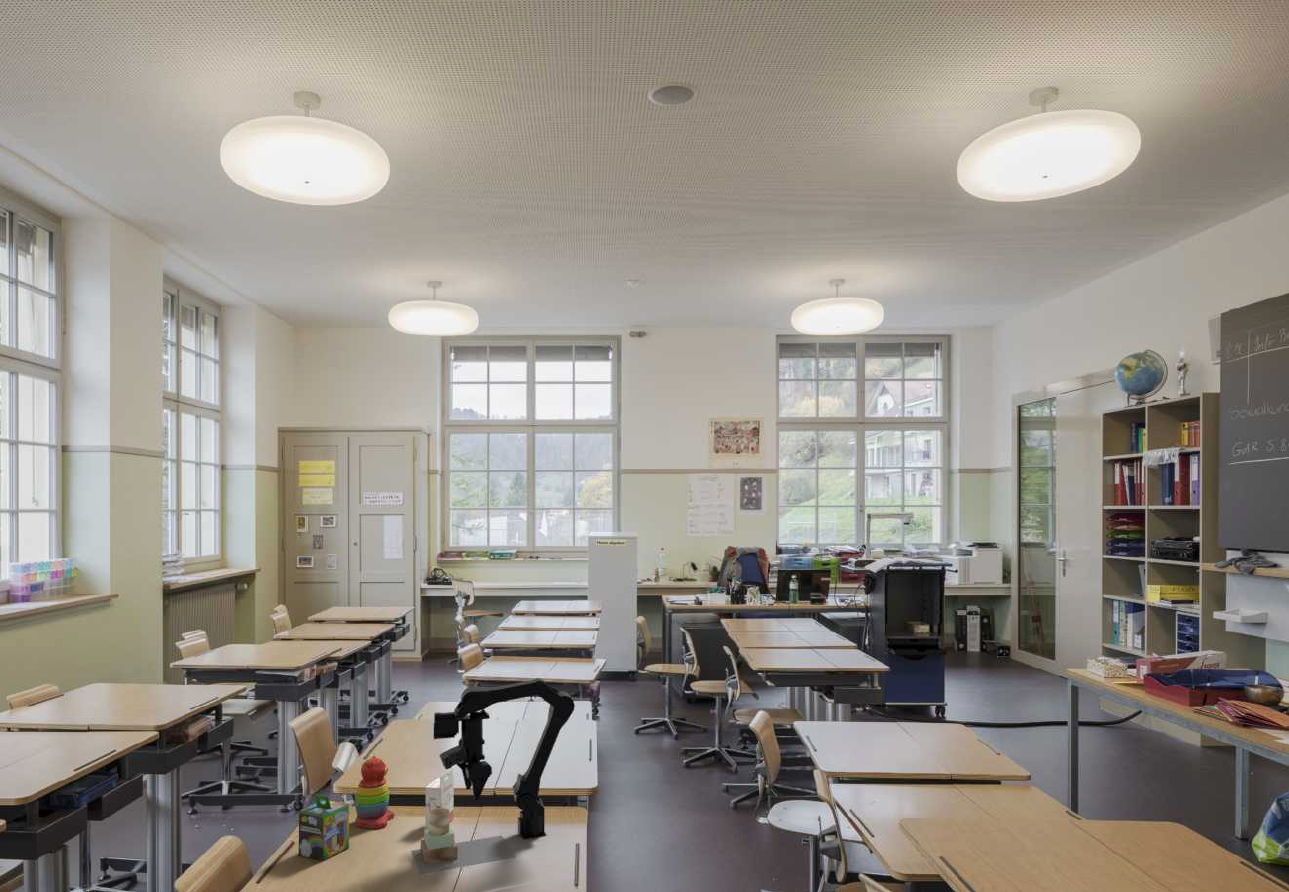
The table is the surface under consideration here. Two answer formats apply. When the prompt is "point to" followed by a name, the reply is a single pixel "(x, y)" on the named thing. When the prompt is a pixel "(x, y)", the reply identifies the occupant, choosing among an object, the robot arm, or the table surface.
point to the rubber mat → (469, 854)
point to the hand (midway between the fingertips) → (472, 794)
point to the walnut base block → (438, 853)
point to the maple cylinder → (439, 821)
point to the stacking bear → (373, 796)
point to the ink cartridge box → (440, 795)
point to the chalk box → (323, 829)
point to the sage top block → (438, 840)
